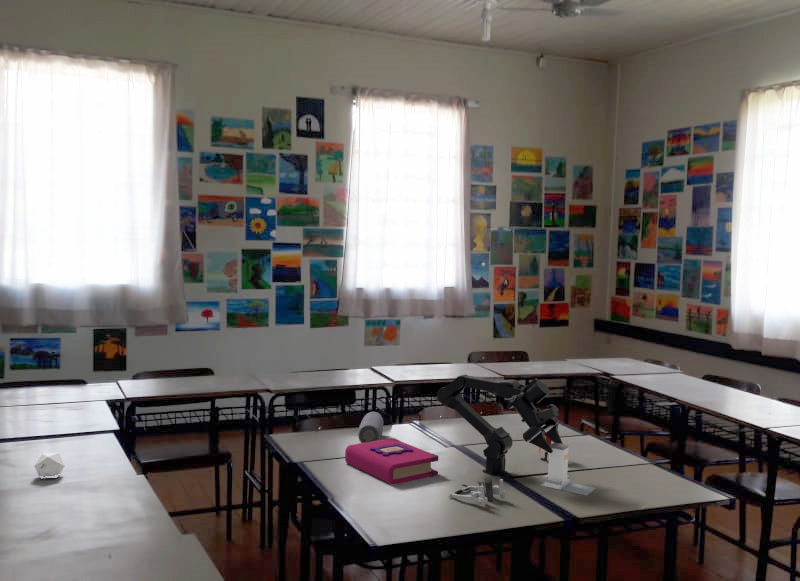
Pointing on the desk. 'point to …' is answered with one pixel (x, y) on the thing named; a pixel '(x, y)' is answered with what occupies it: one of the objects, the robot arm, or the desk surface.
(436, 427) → the desk surface
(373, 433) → the bluetooth speaker
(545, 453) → the action figure
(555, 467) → the relay module
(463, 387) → the robot arm
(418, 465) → the book
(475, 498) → the bike brake
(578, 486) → the din rail board
